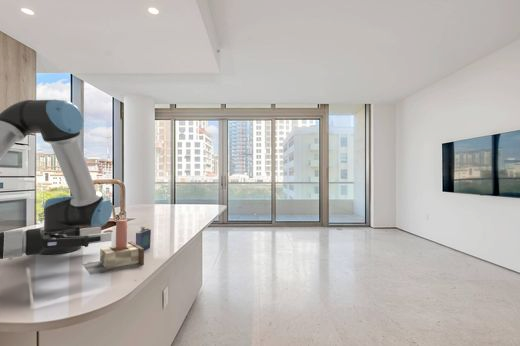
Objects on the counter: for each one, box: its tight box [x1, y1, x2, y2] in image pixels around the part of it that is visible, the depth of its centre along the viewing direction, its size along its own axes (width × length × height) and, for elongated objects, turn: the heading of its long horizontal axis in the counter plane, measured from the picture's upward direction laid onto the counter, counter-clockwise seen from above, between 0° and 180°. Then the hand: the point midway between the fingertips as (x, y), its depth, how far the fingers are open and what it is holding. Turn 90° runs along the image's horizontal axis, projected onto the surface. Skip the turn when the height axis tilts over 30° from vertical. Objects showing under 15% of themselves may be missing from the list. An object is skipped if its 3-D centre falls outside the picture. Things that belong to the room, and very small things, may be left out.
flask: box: [135, 226, 152, 251], centre depth 115 cm, size 9×3×11 cm, turn 172°
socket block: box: [99, 243, 139, 269], centre depth 96 cm, size 10×10×5 cm
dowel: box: [115, 219, 128, 251], centre depth 96 cm, size 4×4×14 cm
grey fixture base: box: [82, 241, 145, 276], centre depth 95 cm, size 14×16×6 cm
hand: (106, 233), depth 93 cm, fingers open, 13 cm apart
